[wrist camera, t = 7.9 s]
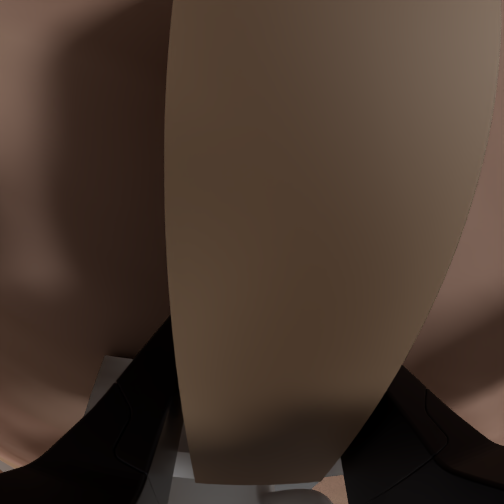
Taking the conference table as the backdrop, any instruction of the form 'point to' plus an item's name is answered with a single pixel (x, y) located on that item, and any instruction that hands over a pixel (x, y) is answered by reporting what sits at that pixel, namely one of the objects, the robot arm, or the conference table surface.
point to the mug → (239, 494)
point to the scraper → (310, 214)
